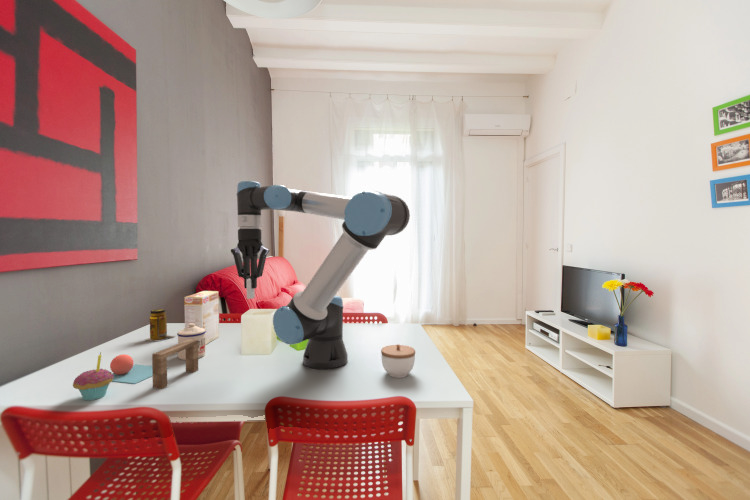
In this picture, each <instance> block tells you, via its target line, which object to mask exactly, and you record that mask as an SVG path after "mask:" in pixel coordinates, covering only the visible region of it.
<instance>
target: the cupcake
mask: <svg viewBox="0 0 750 500" xmlns="http://www.w3.org/2000/svg"><path fill="white" fill-rule="evenodd" d="M101 362H102V352H100V353H99V354H98V355H97V363H96V369H92V370H91V369H90V370H86V371H83V372H81V373H80V374H79V375H77V376H76V377H75V378H74V379H73V383H72V388H74V389H76V390H78V391H79V392H80V395H81V397H82V400H84V401H93V400H94V399H95V400H98V398H99V399H101V398H103V397H105V396H106V394H107V390H108V388H109V386H110V383H113V381H112V379H113V377H114V376H113V372H112V371H109V370H107V369H106V368H104V369H103V368H101ZM95 400H94V401H95Z"/></svg>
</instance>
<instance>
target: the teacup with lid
mask: <svg viewBox="0 0 750 500" xmlns="http://www.w3.org/2000/svg"><path fill="white" fill-rule="evenodd" d="M205 332H206V331H205V329H204V328H199V327H198V326H195V324H194V323H191V324H189V325H188V327H186V328H185V327H184V328H183V329H180V330H178V332H177V334H176V335H177V344H179V343H182V342H184V341H187V340H190V339H191V340H198V359H200V358H203V357H204V356H206V345H205ZM177 357H178V359H179V360H182V361H186V350H185V349H184V350H182V351H179V352H177Z"/></svg>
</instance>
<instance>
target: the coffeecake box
mask: <svg viewBox="0 0 750 500" xmlns="http://www.w3.org/2000/svg"><path fill="white" fill-rule="evenodd" d="M219 292H220V291H217V290H202V291H199V292H197V293H194V294H191V295H187V296H184V297H183V298H184V299H183V301H184V303H183V304H184V328H186V327H188V325H189V324H191V323H194V324H195V326H198V327H199V328H204V329H205V331H206V332H205V346H206V345H208V344H209V343H211V342H212V341H214V340H216V339H218V338H219V337H220V310H219V309H220V306H219V305H220V303H219V302H220V300H219V299H220V296H219V295H220V294H219Z"/></svg>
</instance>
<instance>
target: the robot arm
mask: <svg viewBox="0 0 750 500" xmlns="http://www.w3.org/2000/svg"><path fill="white" fill-rule="evenodd" d="M236 187H237V191H236V197H237V199H236V201H237V205H236V206H237V227H238V228H239V229H237V240H238V242H237V245H236V247H234V248H231V249H230V252H231V255H232V256H233V259H234V263H235V268H236V271H237V275H238V277H239V278H242V279H243V283H244V285H243V287H244V289H246V300H247V299H248V300H249V299H250V300H251V299H254V298H255V297H256V295H255V292H256V291H255V289H257V287H258V286H257V285H258V278H261V277H263V273H264V268H265V265H266V261H267V256H268V254H269V252H270V249H269V248H266V247H265V246H264V245H263V242H262V229H261V227H262V211H263V210H266V211H267V210H269V211H270V210H274V211H288V212H297V213H302V214H310V215H315V216H321V217H327V218H331V219H332V218H333V219H339V220H344V221H343V222H342V224H341V228H342V234H341V235H340V237H339V238H338V239H337V241H336V242H335V243H334V246H333V247H332V248H331V249H330V251H329V253H328V254H327V255H326V257H325V258H324V260H323V261H322V263H321V264H320V266H319V267H318V269H317V270H316V272H315V273H314V275H313V276H312V278H311V279H310V281H309V282H308V283H307V285H306V287H305V288H304V289H303V291H298V292H296V293H294V295H293V297H292V298H291V299H290V301H289V302H288V304H287V305H282V306H280V307H279V308H277V309H276V310H275V311H274V313H273V315H272V316H273V317H272V325H273V329H274V332H275V335H276V336H277V338H278V339H279V340H280V341H281V342H283V344H286V345H296V344H300V343H301V342H305V341H307V343H306V345H305V349H304V353H303V356H302V358H303V359H302V363H303V365H304V366H306V367H308V368H311V369H317V370H328V369H335V368H341V367H342V366H345V365H346V364H347V363H348V358H349V357H348V352H347V348H346V345H345V342H344V340H343V330H344V329H343V326H344V325H343V324H344V323H343V321H344V317H343V315H344V306H343V298H342V297H341V296H339V295H337V294H338V292H339V291H340V290H341V288H342V287H343V286H344V284H345V283H346V281H347V280H348V279H349V278H350V276H351V275H352V273H353V272H354V270H355V269H356V267H357V266H358V265H359V263H360V262H361V261H362V259H363V258H364V257H365V255H366V254H367V252H368V251H369V250H371V251H372V250H376V249H377V248H378V247H379V246H380V244H381V243H382V241H383V240H384V239H385V237H387V236H394V235H398V234H400V233H402V232H403V231H404V230H405V229H406V228H407V226H408V224H409V223H410V217H411V214H410V209H409V207H408V205H407V203H406V202H405V200H403V199H402V198H400V197H398V196H397V195H392V194H387V193H382V192H380V191H377V190H367V191H366V190H363V191H360V192H358V193H356V194H354V195H353V196H344V195H337V194H329V193H321V192H316V191H306V190H301V189H300V190H299V189H291V188H289V187H288V188H287V186H285V185H282V184H272V185H265V186H262V185H261V183H260V182H258V181H254V180H243V181H239V182H238V183H237V186H236ZM259 252H260V254H259ZM241 254H242V255H241ZM258 255H259V256H258ZM258 257H259V259H258Z"/></svg>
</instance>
